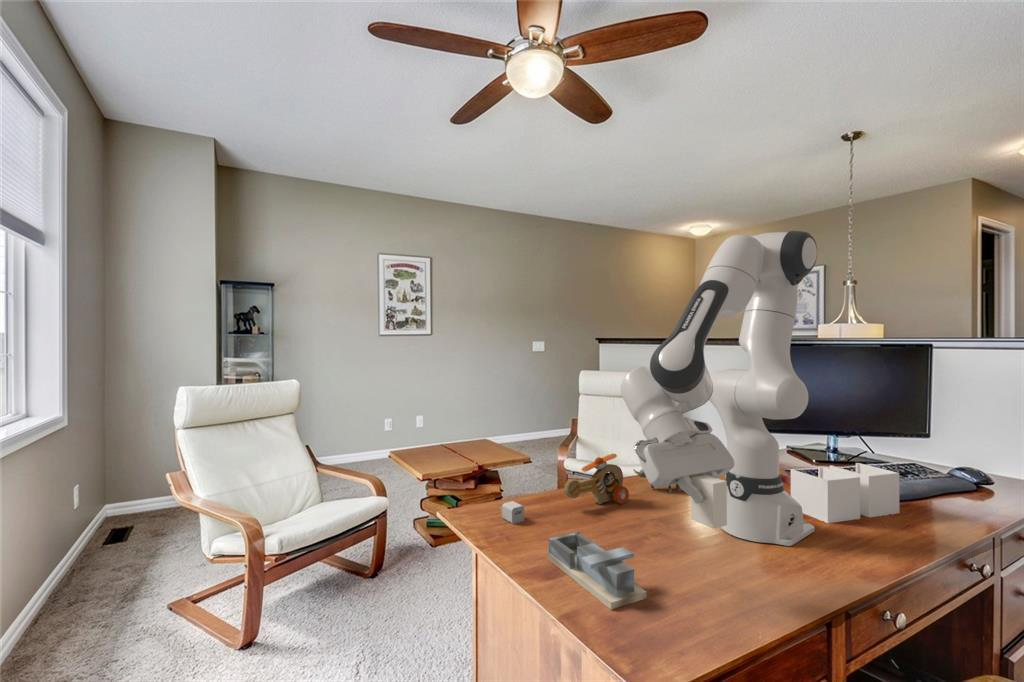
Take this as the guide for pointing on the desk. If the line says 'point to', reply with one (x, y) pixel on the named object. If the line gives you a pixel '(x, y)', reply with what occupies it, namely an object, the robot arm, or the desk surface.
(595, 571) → the jig
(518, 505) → the usb wall charger
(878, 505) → the storage container
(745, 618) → the desk surface
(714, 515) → the cream upright slab block
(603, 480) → the toy helicopter
